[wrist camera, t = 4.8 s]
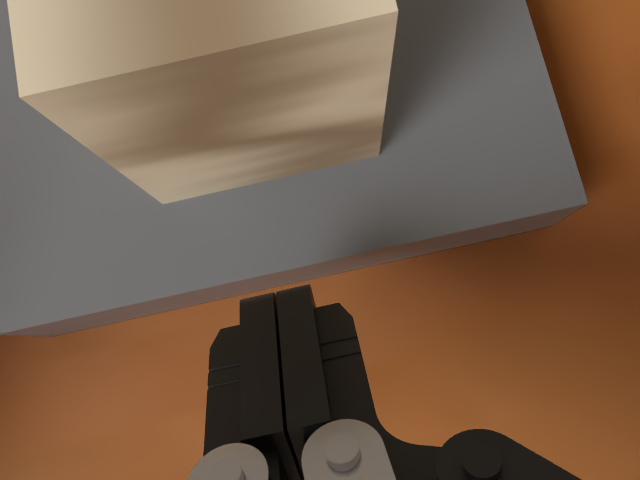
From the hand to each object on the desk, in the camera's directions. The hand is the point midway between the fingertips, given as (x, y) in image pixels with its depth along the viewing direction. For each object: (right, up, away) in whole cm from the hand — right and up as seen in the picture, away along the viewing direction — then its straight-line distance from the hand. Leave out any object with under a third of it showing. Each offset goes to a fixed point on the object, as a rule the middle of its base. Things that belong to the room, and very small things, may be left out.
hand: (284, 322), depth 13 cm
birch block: (-1, +6, +4) cm, 7 cm away
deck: (-1, +6, +7) cm, 9 cm away
